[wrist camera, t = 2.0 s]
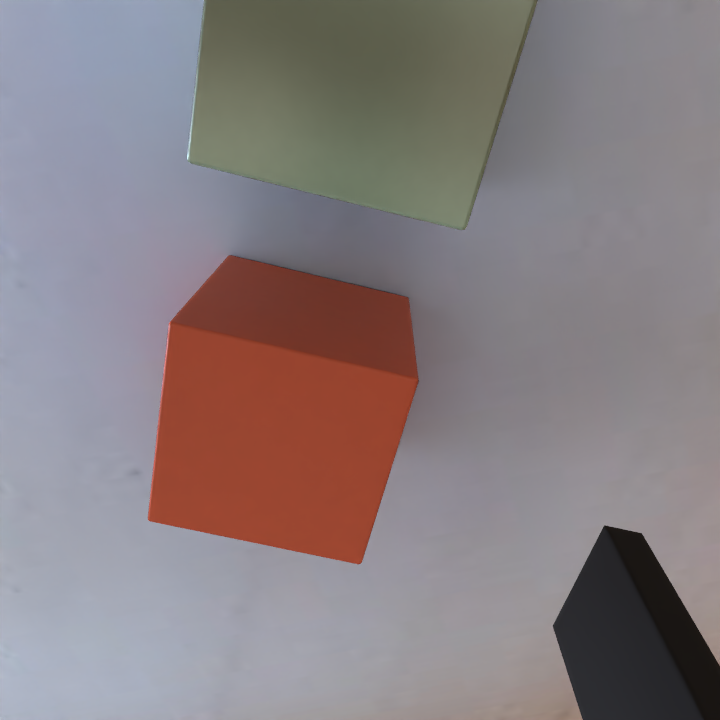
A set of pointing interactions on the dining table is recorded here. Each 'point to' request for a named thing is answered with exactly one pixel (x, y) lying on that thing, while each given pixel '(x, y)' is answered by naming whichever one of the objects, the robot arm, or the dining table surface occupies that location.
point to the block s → (282, 409)
